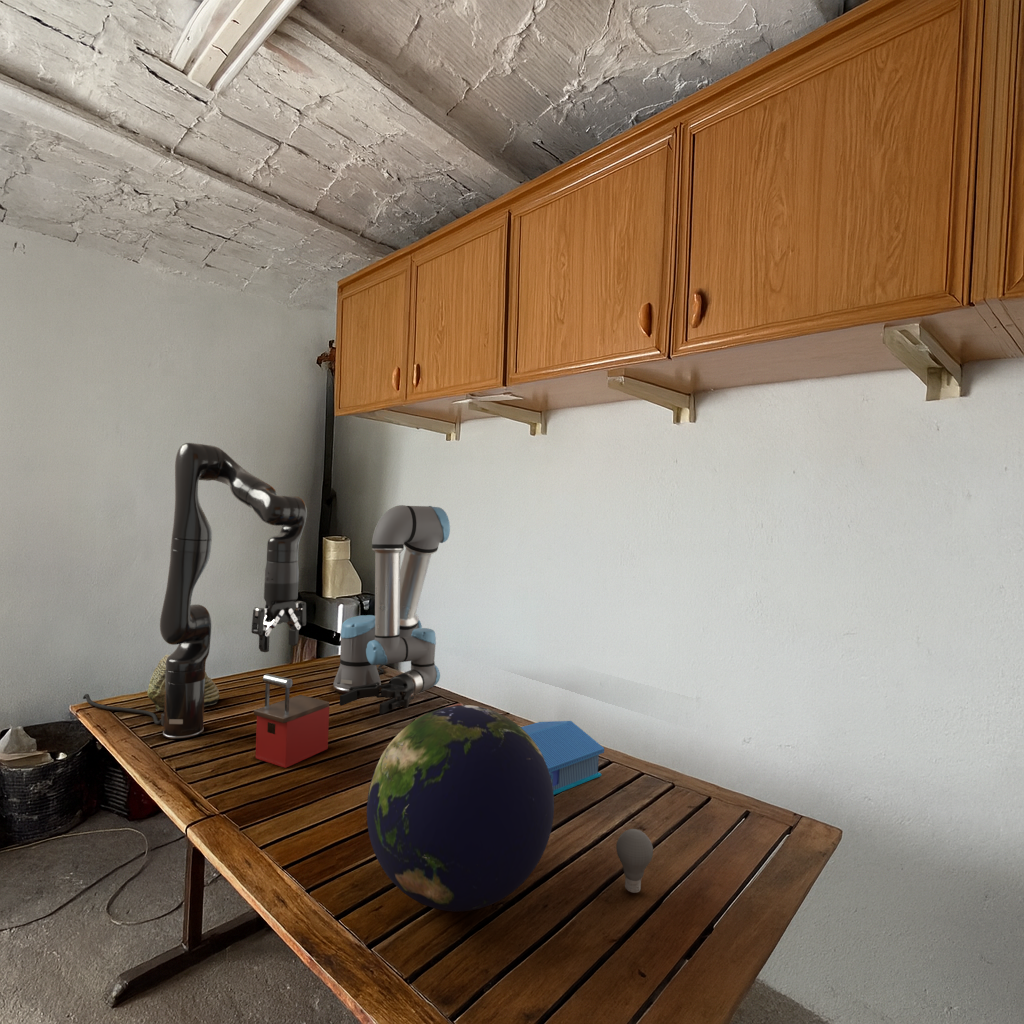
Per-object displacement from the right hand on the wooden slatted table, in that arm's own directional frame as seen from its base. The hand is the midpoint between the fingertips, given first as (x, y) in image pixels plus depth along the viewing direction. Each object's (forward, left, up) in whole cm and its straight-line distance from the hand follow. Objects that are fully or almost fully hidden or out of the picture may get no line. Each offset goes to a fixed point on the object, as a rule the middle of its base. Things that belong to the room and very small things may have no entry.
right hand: (360, 705), depth 174 cm
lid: (+20, -11, +4) cm, 23 cm away
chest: (+19, -11, -6) cm, 23 cm away
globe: (+70, +36, -6) cm, 79 cm away
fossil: (-9, -55, -6) cm, 56 cm away
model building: (+28, +44, -6) cm, 53 cm away
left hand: (+24, -13, +20) cm, 34 cm away
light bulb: (+65, +65, -6) cm, 93 cm away
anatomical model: (-9, +21, -6) cm, 24 cm away
